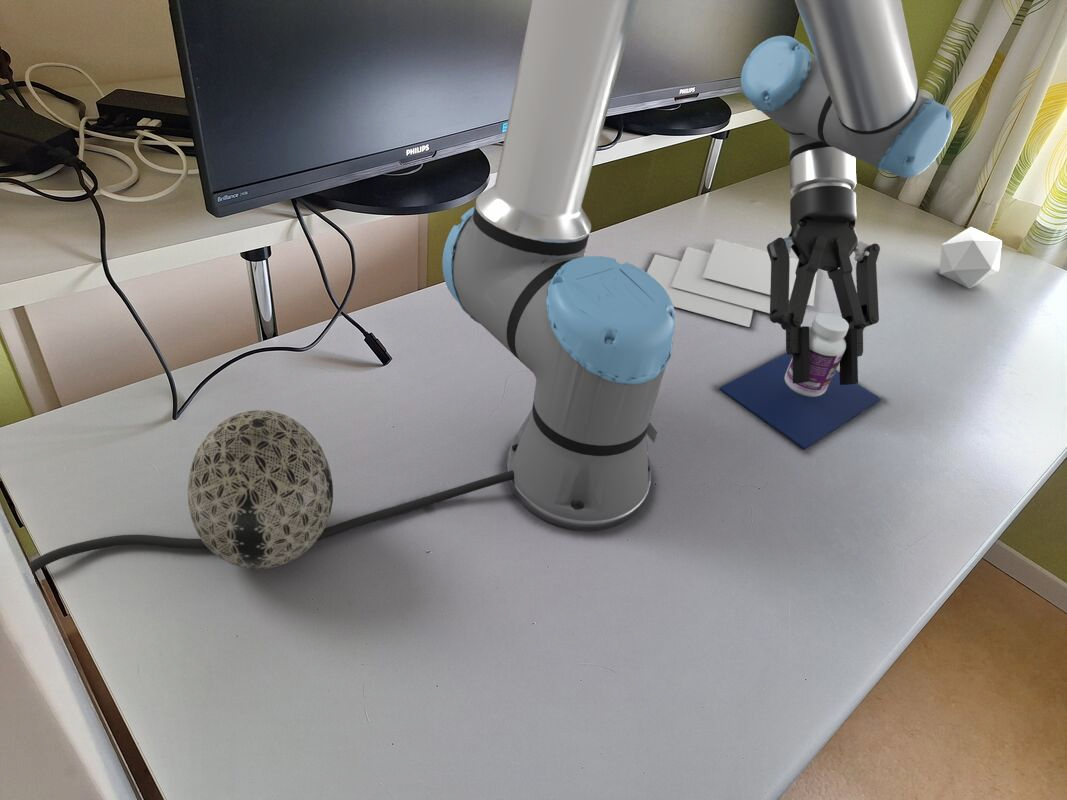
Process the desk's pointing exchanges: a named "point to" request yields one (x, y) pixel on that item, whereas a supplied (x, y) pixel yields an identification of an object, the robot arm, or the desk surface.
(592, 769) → the desk surface
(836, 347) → the pill bottle
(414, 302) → the desk surface
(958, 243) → the die
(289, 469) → the decorative egg
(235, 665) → the desk surface
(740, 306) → the paper stack
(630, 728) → the desk surface
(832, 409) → the cloth
